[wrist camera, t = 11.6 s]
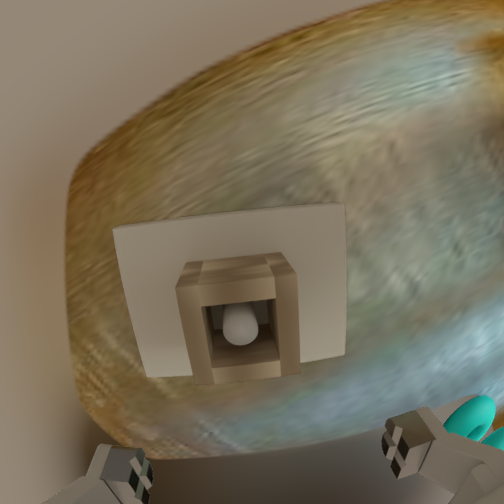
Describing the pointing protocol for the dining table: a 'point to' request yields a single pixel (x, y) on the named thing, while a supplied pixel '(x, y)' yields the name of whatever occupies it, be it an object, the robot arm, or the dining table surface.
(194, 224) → the post board
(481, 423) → the donuts
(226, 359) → the collar
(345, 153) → the dining table surface
